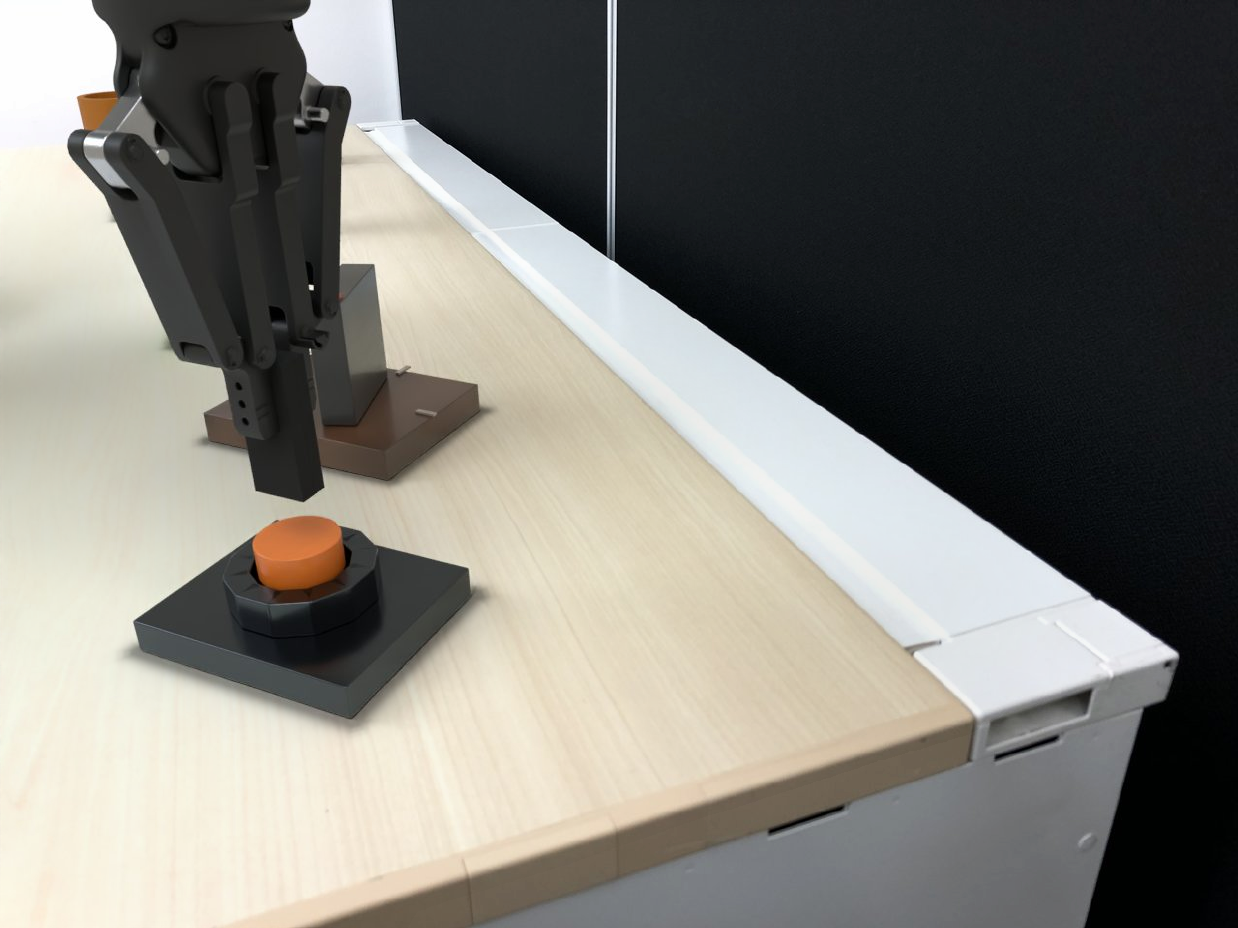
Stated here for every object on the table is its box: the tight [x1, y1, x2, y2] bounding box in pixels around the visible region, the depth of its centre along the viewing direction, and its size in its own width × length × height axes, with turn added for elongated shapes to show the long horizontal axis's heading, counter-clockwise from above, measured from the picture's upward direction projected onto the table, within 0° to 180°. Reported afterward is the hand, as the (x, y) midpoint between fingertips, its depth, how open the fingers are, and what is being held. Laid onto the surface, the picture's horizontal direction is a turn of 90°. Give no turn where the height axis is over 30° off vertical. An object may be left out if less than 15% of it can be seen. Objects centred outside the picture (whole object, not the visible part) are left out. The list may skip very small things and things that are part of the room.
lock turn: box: [310, 263, 388, 426], centre depth 68 cm, size 8×2×8 cm, turn 177°
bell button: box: [253, 515, 346, 590], centre depth 50 cm, size 4×4×2 cm
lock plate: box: [202, 354, 481, 481], centre depth 71 cm, size 14×12×2 cm
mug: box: [76, 90, 118, 130], centre depth 144 cm, size 9×12×9 cm
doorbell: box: [132, 519, 472, 719], centre depth 51 cm, size 12×10×4 cm
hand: (290, 488), depth 48 cm, fingers closed
